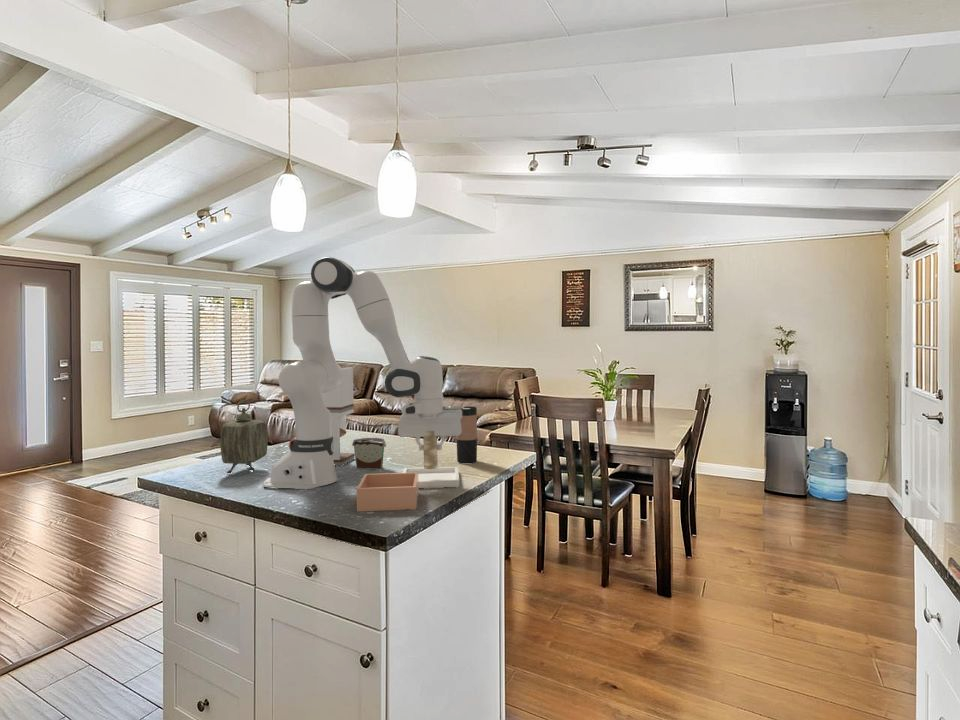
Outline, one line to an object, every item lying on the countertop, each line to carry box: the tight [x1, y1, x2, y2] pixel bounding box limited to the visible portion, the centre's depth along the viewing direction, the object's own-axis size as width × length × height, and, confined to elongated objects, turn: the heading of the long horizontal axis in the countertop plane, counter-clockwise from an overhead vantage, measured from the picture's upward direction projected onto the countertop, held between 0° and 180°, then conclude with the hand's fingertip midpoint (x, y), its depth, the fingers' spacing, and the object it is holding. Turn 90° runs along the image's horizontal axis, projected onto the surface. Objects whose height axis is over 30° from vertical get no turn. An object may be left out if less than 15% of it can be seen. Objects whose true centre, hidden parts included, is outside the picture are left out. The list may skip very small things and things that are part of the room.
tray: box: [402, 466, 460, 489], centre depth 171 cm, size 18×18×2 cm
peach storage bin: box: [356, 472, 420, 512], centre depth 150 cm, size 16×16×6 cm
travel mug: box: [455, 405, 478, 464], centre depth 197 cm, size 8×8×20 cm
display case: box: [322, 366, 355, 466], centre depth 199 cm, size 11×11×35 cm
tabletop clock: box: [219, 399, 268, 474], centre depth 185 cm, size 14×9×25 cm, turn 171°
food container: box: [351, 437, 387, 470], centre depth 191 cm, size 12×6×10 cm, turn 77°
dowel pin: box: [422, 431, 439, 469], centre depth 171 cm, size 4×4×12 cm
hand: (430, 450), depth 171 cm, fingers closed on dowel pin, 4 cm apart
